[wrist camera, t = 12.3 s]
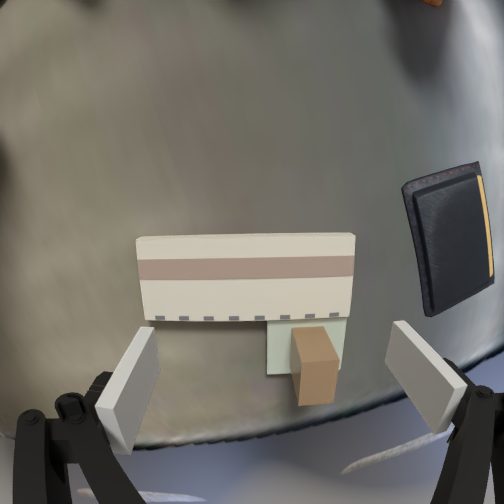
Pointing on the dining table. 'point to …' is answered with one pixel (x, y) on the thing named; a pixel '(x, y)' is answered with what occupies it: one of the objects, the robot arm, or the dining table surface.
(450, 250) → the wallet
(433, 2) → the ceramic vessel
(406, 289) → the dining table surface
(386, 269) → the dining table surface
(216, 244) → the pad
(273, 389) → the dining table surface
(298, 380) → the stub
